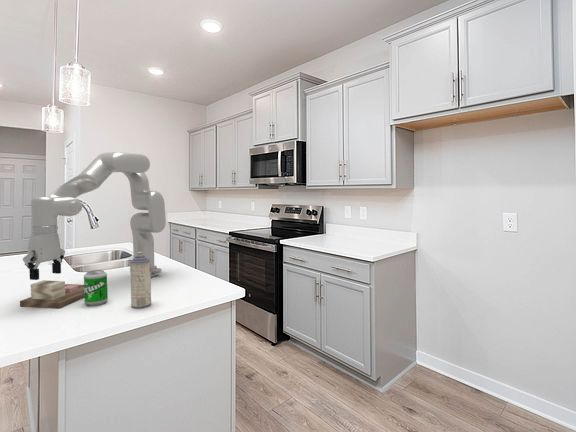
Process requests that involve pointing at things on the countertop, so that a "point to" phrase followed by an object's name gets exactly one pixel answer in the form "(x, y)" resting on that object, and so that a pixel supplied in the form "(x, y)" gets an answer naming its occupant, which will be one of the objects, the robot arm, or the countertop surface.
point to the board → (60, 303)
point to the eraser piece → (70, 288)
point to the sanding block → (48, 290)
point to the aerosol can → (140, 281)
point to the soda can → (95, 287)
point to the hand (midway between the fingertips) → (46, 276)
